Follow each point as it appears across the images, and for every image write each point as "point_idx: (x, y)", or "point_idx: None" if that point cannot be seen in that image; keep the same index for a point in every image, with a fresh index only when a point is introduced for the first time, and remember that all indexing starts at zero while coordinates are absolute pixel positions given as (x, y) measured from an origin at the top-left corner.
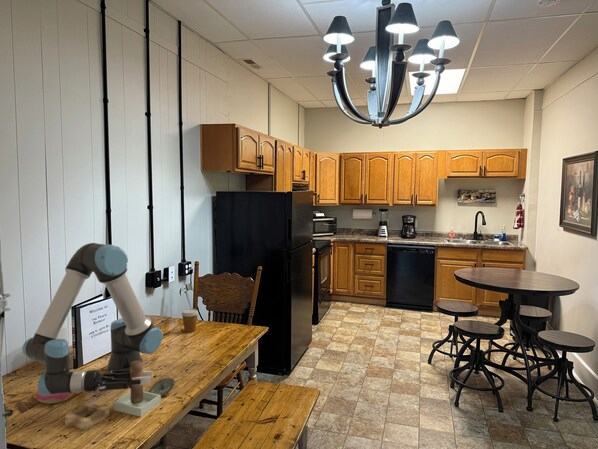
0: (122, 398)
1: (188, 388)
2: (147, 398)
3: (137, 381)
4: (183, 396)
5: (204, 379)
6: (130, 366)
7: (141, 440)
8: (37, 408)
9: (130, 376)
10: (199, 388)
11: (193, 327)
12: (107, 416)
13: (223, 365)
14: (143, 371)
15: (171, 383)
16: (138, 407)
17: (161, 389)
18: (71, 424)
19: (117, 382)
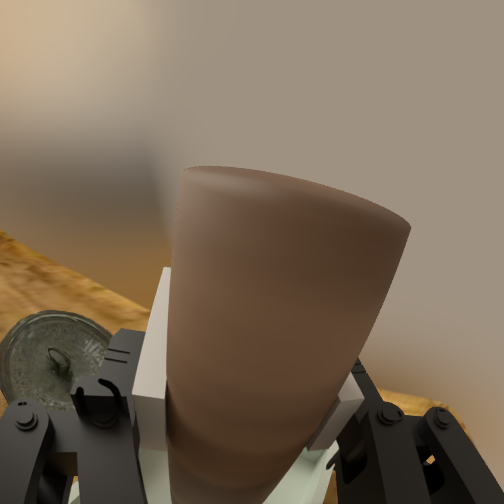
0: None
1: (86, 310)
2: (140, 454)
3: (358, 363)
4: (146, 329)
5: (50, 272)
6: (388, 279)
7: (442, 404)
8: None
9: (304, 434)
10: (105, 289)
11: None
12: None
13: (7, 236)
14: (158, 316)
15: (70, 327)
16: (330, 455)
17: (69, 381)
18: None
19: (490, 492)
